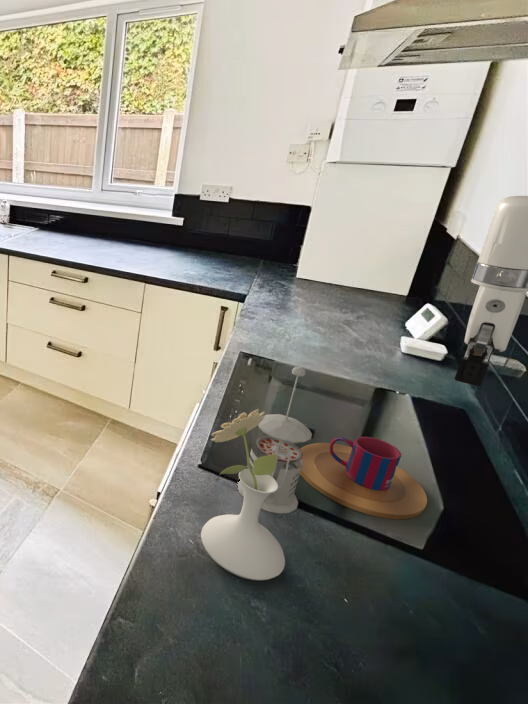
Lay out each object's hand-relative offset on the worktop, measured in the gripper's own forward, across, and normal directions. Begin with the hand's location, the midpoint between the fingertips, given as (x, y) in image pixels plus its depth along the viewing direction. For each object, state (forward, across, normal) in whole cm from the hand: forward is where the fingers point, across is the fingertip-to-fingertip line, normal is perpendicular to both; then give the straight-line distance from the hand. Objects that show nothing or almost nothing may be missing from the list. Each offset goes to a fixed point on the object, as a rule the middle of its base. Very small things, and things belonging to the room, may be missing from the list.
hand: (470, 374), depth 78 cm
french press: (+22, -28, +19) cm, 40 cm away
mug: (+21, -10, +10) cm, 25 cm away
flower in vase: (+22, -45, +17) cm, 53 cm away
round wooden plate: (+22, -10, +10) cm, 26 cm away
